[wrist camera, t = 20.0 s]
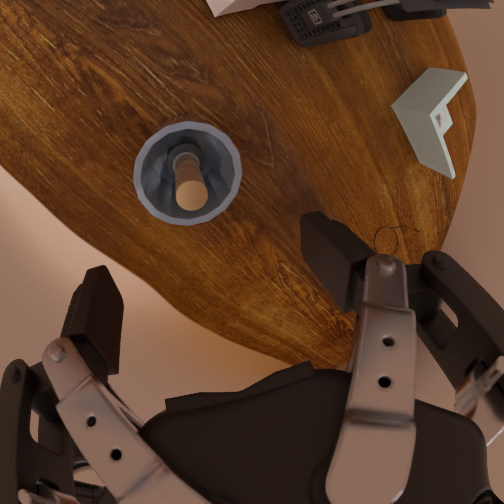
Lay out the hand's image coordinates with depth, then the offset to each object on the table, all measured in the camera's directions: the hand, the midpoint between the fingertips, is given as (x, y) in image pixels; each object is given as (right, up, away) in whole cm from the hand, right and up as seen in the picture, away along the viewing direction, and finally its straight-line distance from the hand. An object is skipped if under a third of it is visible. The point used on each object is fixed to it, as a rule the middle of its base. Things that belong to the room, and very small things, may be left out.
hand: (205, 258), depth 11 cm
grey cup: (-6, +11, +17) cm, 22 cm away
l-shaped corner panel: (+29, +22, +22) cm, 43 cm away
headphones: (+14, +31, +11) cm, 36 cm away
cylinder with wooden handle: (-5, +11, +17) cm, 21 cm away
